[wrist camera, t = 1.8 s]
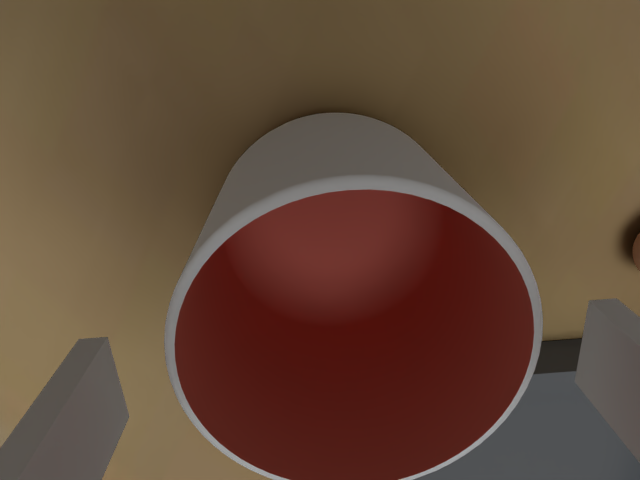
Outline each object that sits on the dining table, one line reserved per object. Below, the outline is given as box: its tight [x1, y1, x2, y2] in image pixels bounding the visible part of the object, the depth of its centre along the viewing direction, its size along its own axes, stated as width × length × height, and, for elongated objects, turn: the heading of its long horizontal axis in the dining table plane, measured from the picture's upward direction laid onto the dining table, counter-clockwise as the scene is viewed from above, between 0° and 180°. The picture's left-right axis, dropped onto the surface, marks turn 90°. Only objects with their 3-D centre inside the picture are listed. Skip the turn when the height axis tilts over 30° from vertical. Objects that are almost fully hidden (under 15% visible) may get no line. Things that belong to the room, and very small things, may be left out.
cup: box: [164, 113, 543, 480], centre depth 17 cm, size 10×10×10 cm
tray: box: [413, 339, 640, 480], centre depth 27 cm, size 17×17×2 cm
